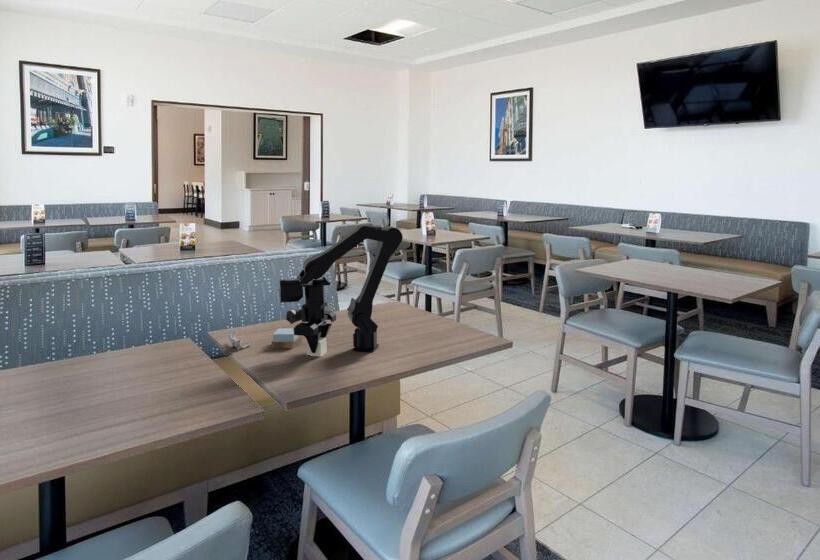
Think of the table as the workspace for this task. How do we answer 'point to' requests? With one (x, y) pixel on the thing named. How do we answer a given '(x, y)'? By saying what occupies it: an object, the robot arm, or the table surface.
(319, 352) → the cube
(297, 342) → the tower base
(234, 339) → the soldier figure
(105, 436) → the table surface
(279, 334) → the tower mid
